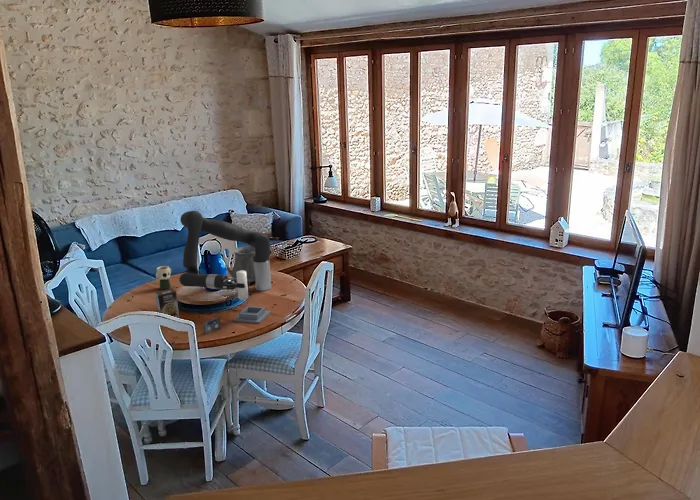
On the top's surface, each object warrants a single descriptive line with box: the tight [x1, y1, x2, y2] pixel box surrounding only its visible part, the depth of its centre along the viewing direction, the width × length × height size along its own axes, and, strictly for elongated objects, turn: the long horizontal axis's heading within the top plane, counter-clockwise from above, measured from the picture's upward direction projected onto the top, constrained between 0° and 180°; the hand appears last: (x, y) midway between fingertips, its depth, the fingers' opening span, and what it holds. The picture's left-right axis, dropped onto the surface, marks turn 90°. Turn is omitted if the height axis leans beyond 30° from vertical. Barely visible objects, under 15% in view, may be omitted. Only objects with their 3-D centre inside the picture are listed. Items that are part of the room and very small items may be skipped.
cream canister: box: [236, 270, 249, 301], centre depth 277 cm, size 5×5×14 cm
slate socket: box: [233, 305, 272, 324], centre depth 280 cm, size 14×14×4 cm
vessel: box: [226, 245, 255, 283], centre depth 333 cm, size 22×22×20 cm
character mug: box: [155, 265, 172, 290], centre depth 323 cm, size 11×7×13 cm, turn 149°
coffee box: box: [154, 288, 180, 319], centre depth 276 cm, size 9×6×16 cm
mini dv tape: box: [202, 317, 222, 335], centre depth 265 cm, size 8×2×6 cm, turn 133°
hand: (246, 284), depth 276 cm, fingers closed on cream canister, 5 cm apart
